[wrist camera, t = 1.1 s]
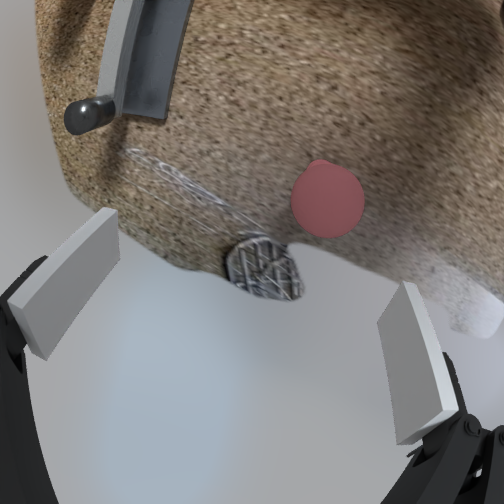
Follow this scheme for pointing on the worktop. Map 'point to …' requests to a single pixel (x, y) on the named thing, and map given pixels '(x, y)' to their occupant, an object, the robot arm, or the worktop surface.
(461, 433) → the robot arm
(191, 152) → the worktop surface
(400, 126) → the worktop surface
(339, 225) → the light bulb
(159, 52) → the base
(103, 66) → the lever
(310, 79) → the worktop surface
